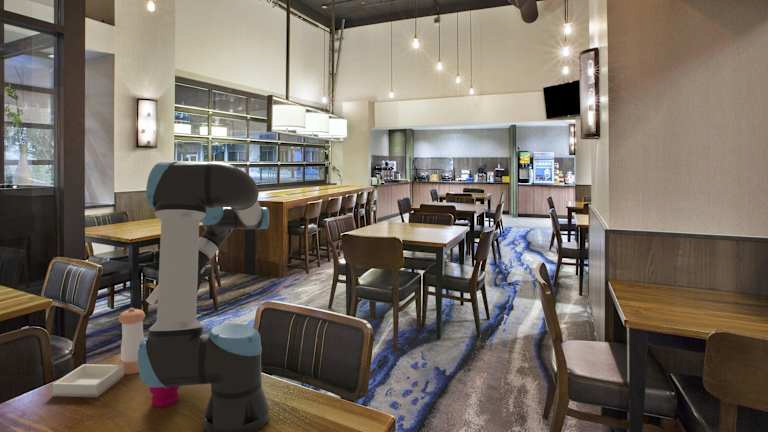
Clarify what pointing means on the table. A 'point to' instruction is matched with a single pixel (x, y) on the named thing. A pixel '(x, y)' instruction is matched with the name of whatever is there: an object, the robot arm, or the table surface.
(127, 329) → the pepper shaker
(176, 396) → the pepper mill
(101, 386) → the tray
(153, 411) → the table surface
